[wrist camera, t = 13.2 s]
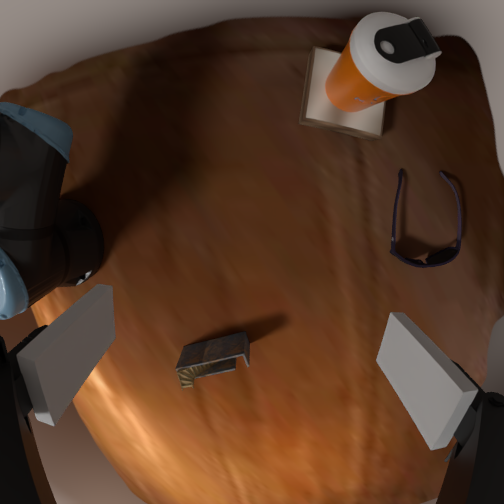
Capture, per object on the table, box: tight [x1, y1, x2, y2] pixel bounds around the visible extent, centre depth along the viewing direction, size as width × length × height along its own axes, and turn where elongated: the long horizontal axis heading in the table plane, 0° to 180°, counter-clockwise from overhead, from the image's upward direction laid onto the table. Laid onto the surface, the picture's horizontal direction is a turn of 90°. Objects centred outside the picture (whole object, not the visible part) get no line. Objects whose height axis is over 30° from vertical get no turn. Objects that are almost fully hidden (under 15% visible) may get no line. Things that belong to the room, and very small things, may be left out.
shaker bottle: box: [325, 12, 442, 112], centre depth 30 cm, size 9×9×20 cm
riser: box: [299, 46, 386, 141], centre depth 42 cm, size 12×12×4 cm
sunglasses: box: [390, 169, 462, 268], centre depth 46 cm, size 14×16×5 cm
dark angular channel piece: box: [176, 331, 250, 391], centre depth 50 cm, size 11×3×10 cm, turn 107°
